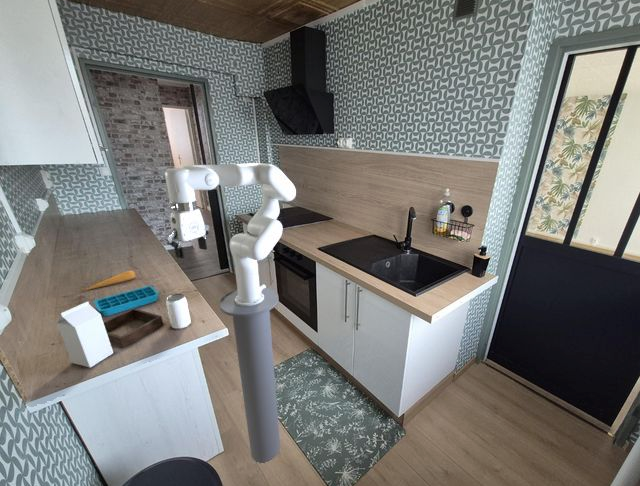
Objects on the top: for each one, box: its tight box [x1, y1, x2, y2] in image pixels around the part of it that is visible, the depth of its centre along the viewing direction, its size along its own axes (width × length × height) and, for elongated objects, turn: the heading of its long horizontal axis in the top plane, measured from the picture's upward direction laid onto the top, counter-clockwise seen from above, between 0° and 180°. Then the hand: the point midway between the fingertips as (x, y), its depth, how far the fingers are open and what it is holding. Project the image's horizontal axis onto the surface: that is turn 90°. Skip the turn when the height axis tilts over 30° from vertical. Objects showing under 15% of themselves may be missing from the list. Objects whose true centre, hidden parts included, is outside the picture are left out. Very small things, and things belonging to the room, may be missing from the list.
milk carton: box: [55, 301, 114, 368], centre depth 90 cm, size 7×7×19 cm
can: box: [165, 293, 192, 330], centre depth 110 cm, size 6×6×12 cm
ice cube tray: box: [93, 285, 160, 317], centre depth 123 cm, size 12×20×3 cm, turn 139°
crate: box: [103, 307, 164, 349], centre depth 106 cm, size 15×15×4 cm
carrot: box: [82, 270, 137, 292], centre depth 137 cm, size 20×4×4 cm, turn 143°
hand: (192, 253), depth 105 cm, fingers open, 9 cm apart
